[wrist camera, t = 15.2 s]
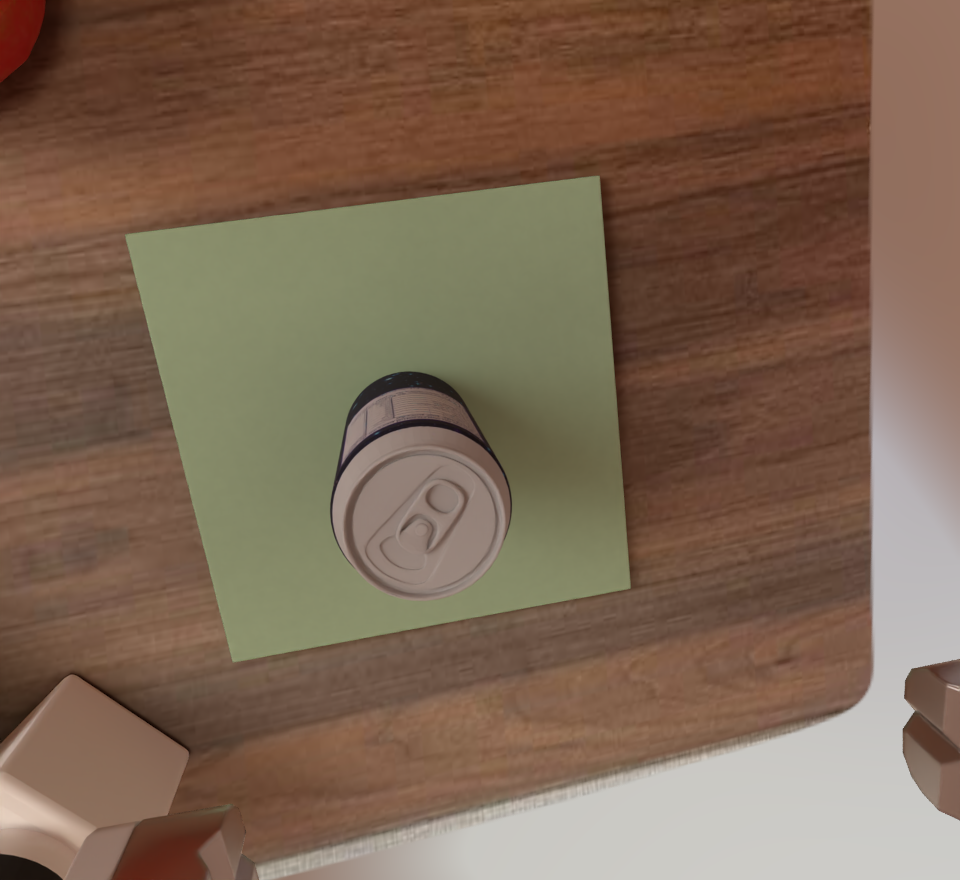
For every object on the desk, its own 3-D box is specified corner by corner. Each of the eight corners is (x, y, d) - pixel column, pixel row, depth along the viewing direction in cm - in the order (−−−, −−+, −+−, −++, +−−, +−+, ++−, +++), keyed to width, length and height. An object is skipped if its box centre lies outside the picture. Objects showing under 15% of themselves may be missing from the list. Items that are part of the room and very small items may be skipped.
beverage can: (321, 447, 32) (289, 556, 20) (390, 343, 31) (397, 394, 20) (425, 510, 33) (450, 644, 22) (494, 412, 33) (557, 497, 21)
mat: (596, 176, 31) (600, 175, 31) (628, 584, 36) (631, 589, 36) (128, 234, 29) (124, 234, 29) (234, 657, 34) (232, 663, 34)
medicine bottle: (-25, 768, 34) (-231, 1031, 22) (72, 668, 33) (-87, 885, 22) (99, 843, 36) (-30, 1120, 24) (194, 750, 35) (105, 988, 24)
